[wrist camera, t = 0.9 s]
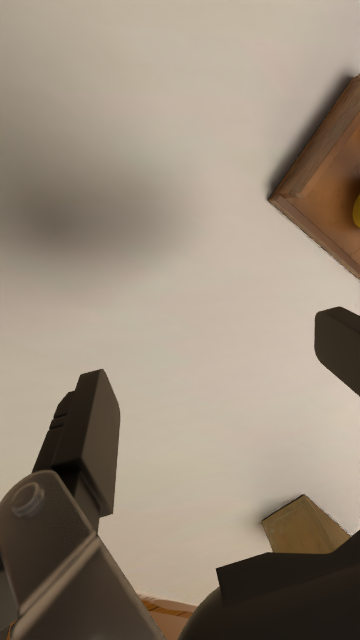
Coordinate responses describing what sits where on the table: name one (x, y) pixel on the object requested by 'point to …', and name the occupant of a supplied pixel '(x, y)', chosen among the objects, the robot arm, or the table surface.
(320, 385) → the table surface
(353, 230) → the tray
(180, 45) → the table surface
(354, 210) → the lemon
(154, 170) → the table surface
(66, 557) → the robot arm
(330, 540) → the caddy
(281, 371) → the table surface
